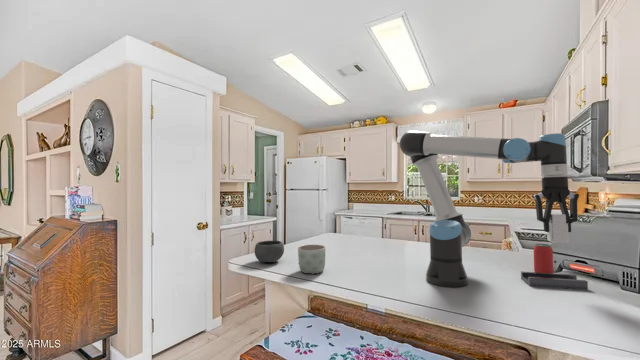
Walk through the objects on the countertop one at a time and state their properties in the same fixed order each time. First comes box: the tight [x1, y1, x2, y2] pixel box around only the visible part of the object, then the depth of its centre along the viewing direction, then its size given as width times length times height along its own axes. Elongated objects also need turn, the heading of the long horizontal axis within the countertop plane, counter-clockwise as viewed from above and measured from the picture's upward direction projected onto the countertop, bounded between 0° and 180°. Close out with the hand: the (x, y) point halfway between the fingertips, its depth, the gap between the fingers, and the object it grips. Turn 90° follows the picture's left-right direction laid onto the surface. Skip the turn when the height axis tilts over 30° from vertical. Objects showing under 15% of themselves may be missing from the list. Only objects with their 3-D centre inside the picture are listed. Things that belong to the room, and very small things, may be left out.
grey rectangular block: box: [549, 213, 568, 244], centre depth 108 cm, size 4×4×10 cm
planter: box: [297, 244, 327, 275], centre depth 134 cm, size 12×12×11 cm
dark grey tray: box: [520, 271, 589, 291], centre depth 113 cm, size 18×8×3 cm, turn 75°
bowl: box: [254, 240, 285, 263], centre depth 152 cm, size 15×15×10 cm
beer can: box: [533, 243, 554, 273], centre depth 127 cm, size 7×7×12 cm
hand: (557, 241), depth 108 cm, fingers closed on grey rectangular block, 4 cm apart
